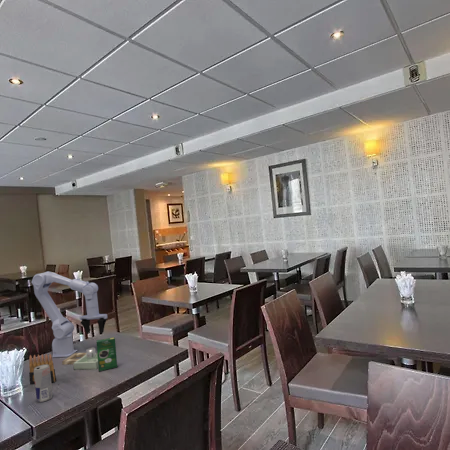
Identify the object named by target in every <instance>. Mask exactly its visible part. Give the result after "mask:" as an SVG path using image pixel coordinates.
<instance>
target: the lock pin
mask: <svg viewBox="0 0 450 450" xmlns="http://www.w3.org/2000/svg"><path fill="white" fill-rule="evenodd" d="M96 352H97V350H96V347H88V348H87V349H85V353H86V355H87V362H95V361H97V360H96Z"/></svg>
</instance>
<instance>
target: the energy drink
mask: <svg viewBox="0 0 450 450" xmlns="http://www.w3.org/2000/svg"><path fill="white" fill-rule="evenodd" d="M34 380H35V384H34V387H35V396H36V402H37V403H45V402H48V401H49V400H51V399H52V398H53V396H54V395H53V394H54V393H53V386H52V384H53V383H51V374H50V367H49V365H48V364H44V365H40V366H37V367H35V368H34Z"/></svg>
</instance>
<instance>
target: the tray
mask: <svg viewBox="0 0 450 450" xmlns="http://www.w3.org/2000/svg"><path fill="white" fill-rule="evenodd" d="M78 359H79V360H78V361H76V362H75V363H73V364H72V365H73V370H74V371H84V370H85V371H86V370H88V371H89V370H97V369H99V368H98V356H97V353H96V360H97V361H95V362H87V355H85V356H83V357H81V358H78Z"/></svg>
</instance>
